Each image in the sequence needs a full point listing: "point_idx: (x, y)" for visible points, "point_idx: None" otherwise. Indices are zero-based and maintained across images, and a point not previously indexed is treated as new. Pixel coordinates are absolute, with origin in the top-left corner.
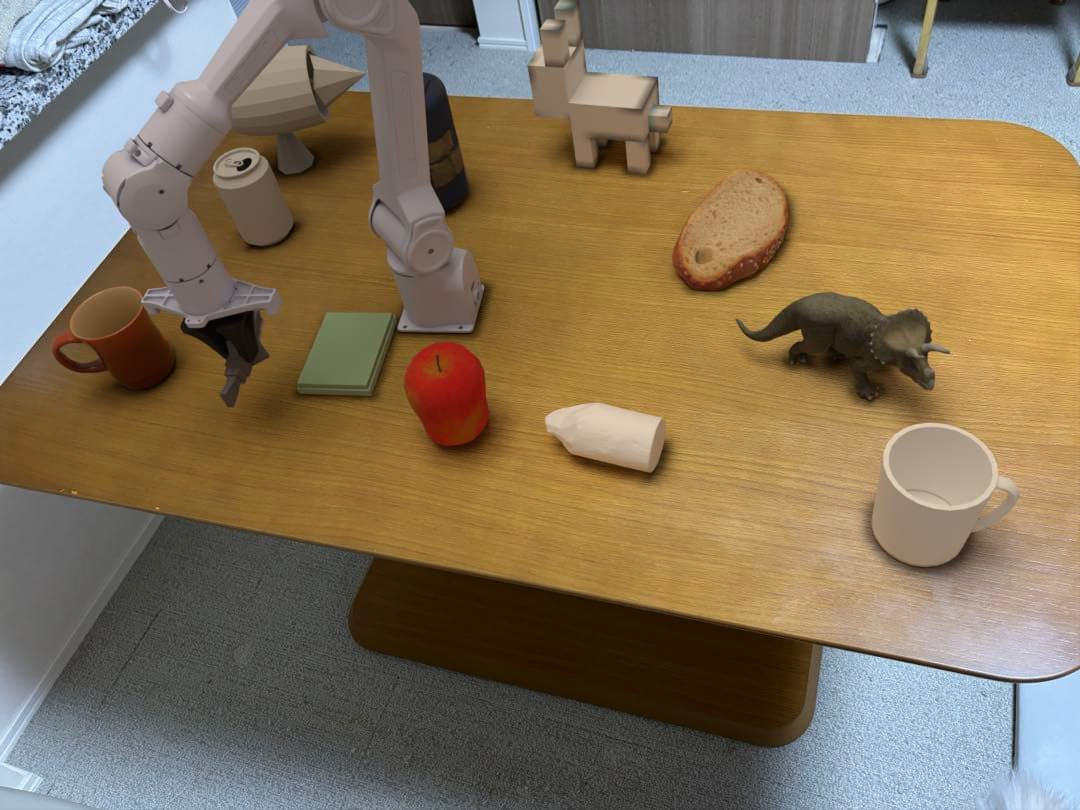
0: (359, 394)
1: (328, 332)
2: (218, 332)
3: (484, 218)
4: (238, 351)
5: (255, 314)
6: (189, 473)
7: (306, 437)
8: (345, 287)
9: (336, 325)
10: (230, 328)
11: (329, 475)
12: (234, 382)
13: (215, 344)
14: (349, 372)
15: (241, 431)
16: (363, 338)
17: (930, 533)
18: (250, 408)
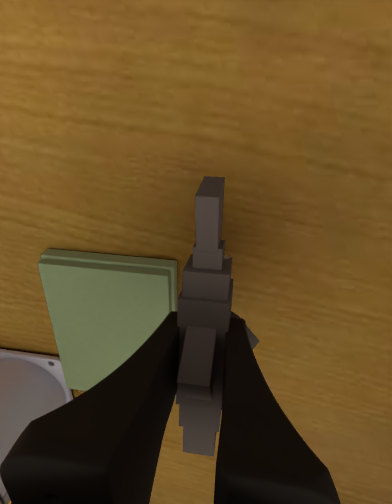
0: (64, 251)
1: None
2: (110, 446)
3: None
4: (168, 344)
5: (186, 445)
6: (376, 49)
7: (125, 161)
8: (177, 433)
9: None
10: (22, 462)
11: (37, 61)
12: (193, 247)
13: (228, 379)
14: (79, 291)
15: (269, 177)
16: (88, 352)
17: None
18: (266, 233)
